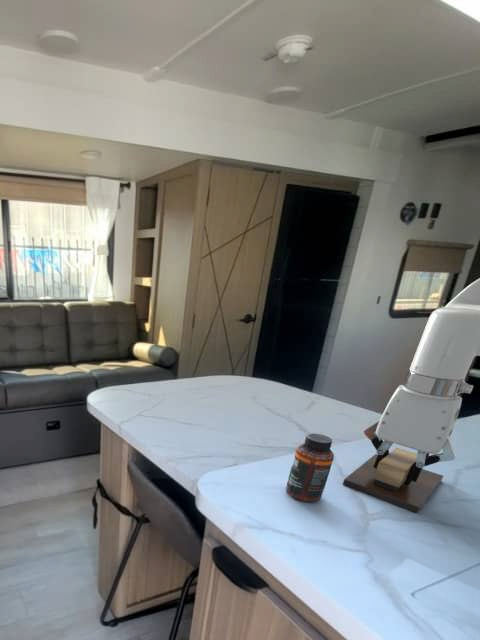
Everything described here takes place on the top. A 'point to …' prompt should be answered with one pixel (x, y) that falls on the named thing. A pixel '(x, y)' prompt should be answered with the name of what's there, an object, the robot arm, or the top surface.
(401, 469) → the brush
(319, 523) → the top surface
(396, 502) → the board
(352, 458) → the top surface
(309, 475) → the supplement bottle
